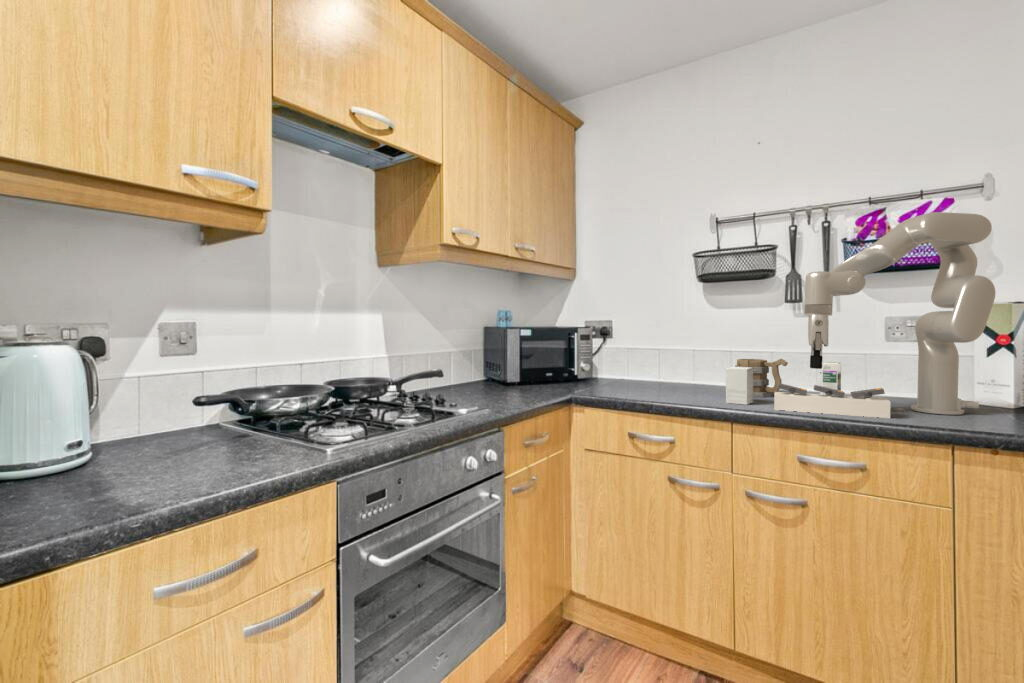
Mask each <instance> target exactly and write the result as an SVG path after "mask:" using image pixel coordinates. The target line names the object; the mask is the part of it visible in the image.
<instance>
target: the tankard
mask: <svg viewBox="0 0 1024 683" xmlns="http://www.w3.org/2000/svg"><path fill="white" fill-rule="evenodd" d="M780 365H782V366H783V367H786V366H788V361H786V360H785V359H783V358H780V359H777V360H775V361H771V362H770V361H769V362H768V360H766V359H762V358H761V359H760V358H738V359H736V364H735V366H734V367H749V368H753V398H768V397H771V396H772V393H775V392H780V389H779V388H778V386H779V383H781V384H782V382H783V381H782V378H781V375H780V370H779V366H780ZM770 367H771V373H772V377H773V379H774V385H773V387H771V386H769V385H770V380H769V378H768V374H769V373H770Z"/></svg>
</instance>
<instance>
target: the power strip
mask: <svg viewBox="0 0 1024 683" xmlns="http://www.w3.org/2000/svg"><path fill="white" fill-rule="evenodd" d="M773 394H774V399H773V400H774V402H773V405H774V408H773V410H774V411H779V410H785V411H784V412H793V411H797V412H796V413H807V412H810V413H811V414H821V413H823V414H822V415H835V414H836V416H840V415H841V416H849V417H850V416H853V417H863V416H864V417H863V418H877V417H879V419H891V413H906V409H905V408H900V407H899V408H898V407H891V401H890V400H889V399H887V398H886V397H874V396H872V397H871V398H866V397H865V396H864V397H857V398H853V397H852V396H851V395H844V397H840V396H836V395H831V396H827V395H824V394H820V393H806V395H803V394H799V393H794V394H791V393H789V392H788V391H787V392H786V391H785V392H784V391H783V392H780V391H778V392H774V393H773Z"/></svg>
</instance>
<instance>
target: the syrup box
mask: <svg viewBox="0 0 1024 683" xmlns="http://www.w3.org/2000/svg"><path fill="white" fill-rule="evenodd" d="M841 381H842V364H841V362H836V361H833V362H832V361H822V369H819V386H822V387H826V388H831V389H835V390H840V391H842V388H841V387H842V384H841V383H842V382H841ZM819 394H824V395H826V394H825V393H824V392H820V391H819Z"/></svg>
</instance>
